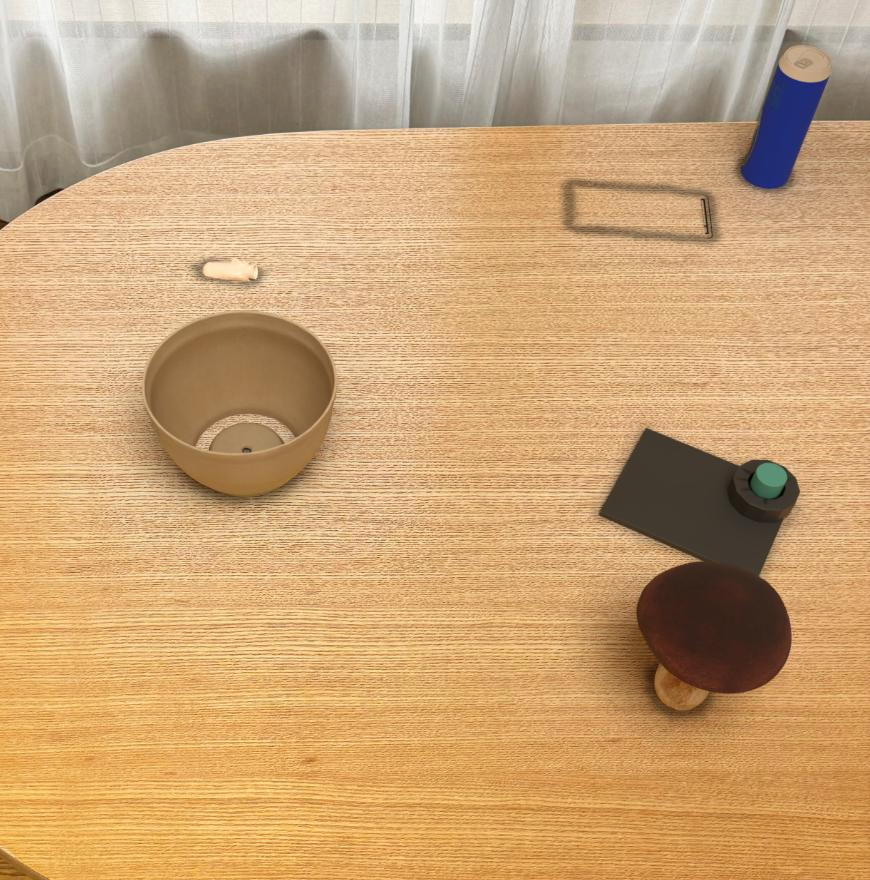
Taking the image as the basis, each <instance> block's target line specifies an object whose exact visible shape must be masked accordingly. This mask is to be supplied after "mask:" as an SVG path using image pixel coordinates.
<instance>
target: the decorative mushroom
mask: <svg viewBox="0 0 870 880" xmlns="http://www.w3.org/2000/svg"><path fill="white" fill-rule="evenodd" d="M635 619H636V622H637V626H638V629H639V631H640V633H641V635H642V637H643V639H644V641H645V643H646V644H647V646H648V648H649V650H650V652H651V653H652V654H653V656H654V658H655V659H656V660H657V662H658V663H659V664H658V666H657V669H656V672H655V675H654V680H653V681H654V682H653V683H654V684H653V685H654V690H655V694H656V696H657V697H658V699H659V700H660V701H661V703H663V704H664V705H665V706H667V708H668V707H669V708H671V709H674V710H675V711H690V710H693V709H694V708H696V707H697V706H699V705H701V704H702V703H703V702H704V701H705V699H706V698H707V697H708V696H709V694H710V693H715V694H722V695H723V694H725V695H726V694H727V695H735V694H743V693H749V692H751V691H754V690H757V689H760V688H762V687H763V686H765V685H767V684H768V683H770V682H771V681H773V679H775V678H776V677H777V676H778V674H779V673H780V672H781V671H782V670H783V668H784V667H785V665H786V663H787V661H788V659H789V656H790V653H791V650H792V641H793V633H792V632H793V631H792V625H791V619H790V615H789V613H788V610H787V607H786V605H785V603H784V601H783V599H782V597H781V596H780V594H779V592H778V591H777V590H776V588H774V587H773V586H772V584H770V583H769V582H768V581H767V580H766V579H764V578H762V577H761V576H760V575H759V576H757V575H755V574H753V573H752V572H750V571H747V570H744V569H742V568H739V567H737V566H733V565H730V564H726V563H720V562H711V561H702V560H700V561H692V562H687V563H682V564H679V565H676V566H672V567H671V568H668V569H666V570H664V571H662V572H660V573H659V574H657V575H655V576H654V577H653V578H652V579H651V580H650V581H649V582H648V583H647V584H646V585H645V586H644V588H643V589H642V591H641V593H640V595H639V598H638V600H637V604H636V610H635Z"/></svg>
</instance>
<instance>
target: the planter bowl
mask: <svg viewBox="0 0 870 880" xmlns="http://www.w3.org/2000/svg"><path fill="white" fill-rule="evenodd" d="M337 391H338V372H337V367H336V364H335V360H334V358H333V356H332V353H331V351H330V349H329V348H328V347H327V346H326V344H325V343H324V342H323V341H322V340H321V338H319V337H318V336H317V335H316V334H315V332H313V331H311V329H309V328H307V327H306V326H304V325H303V324H302V323H298V322H297V321H295V320H294V319H292V318H291V319H290V318H288V317H285V316H283V315H279V314H275V313H273V312H272V313H271V312H265V311H261V310H252V309H237V310H236V309H234V310H225V311H219V312H213V313H211V314H207V315H203V316H200V317H198V318H195V319H193V320H191V321H188V322H186V323H185V324H183V325H181V326H178V328H176V329H175V330H173V331H172V332H170V333H169V334H168V335H167V336H165V337H164V338H163V339H162V340H161V341H160V342H159V343H158V345H156V346H155V348H154V349H153V351H152V352H151V353H150V355H149V358H148V360H147V361H146V364H145V366H144V369H143V373H142V376H141V397H142V401H143V405H144V409H145V411H146V413H147V416H148V417H149V419H150V422H151V425H152V428H153V431H154V433H155V435H156V437H157V439H158V441H159V442H160V444H161V446H162V447H163V449H164V450H165V452H166V454H167V455H168V456H169V458H170V459H171V460H172V462H174V463H175V465H176V466H178V467H179V468H180V470H182V471H183V472H184V473H185V474H187V476H189V477H190V478H192V479H193V480H194V481H196V482H198V483H200V484H201V485H203V486H205V487H207V488H209V489H211V490H214V491H216V492H218V493H220V494H223V495H226V496H230V497H236V498H237V497H238V498H251V497H253V498H254V497H259V496H263V495H267V494H269V493H272V492H275V491H276V490H278V489H280V488H281V487H283V486H284V485H286V484H287V483H288V482H289V481H291V480H292V479H294V478H295V477H296V476H298V474H299V473H301V472H302V471H303V470H304V469H305V468H306V467H307V465H308V464H309V463H310V462H311V461H312V460H313V458H315V456H316V454H317V453H318V451H319V449H320V448H321V446H322V444H323V442H324V440H325V438H326V435H327V433H328V431H329V427H330V423H331V420H332V415H333V410H334V405H335V401H336V397H337ZM240 415H259V416H263V417H267V418H271V419H273V420H275V421H277V422H279V423H281V424H282V425H283V426H284V427H286V428H287V430H288V431H290V433H292V436H293V437H294V438H293V439H290V440H289V441H286V442H285V441H284V440H283V438H282V437H281V436H280V434H278V433H277V432H276V431H275V430H274V429H272V428H270V427H269V426H266V425H264V424H261V423H257V422H239V423H238V422H237V423H235V424H232V425H229V426H227V427H225V428H224V429H221V431H219V432H218V433H217V434H216V435H215V436H214V438H213V439H212V440H211V443H210V445H209V447H208V449H204V448H201V447H197V444H198V442H199V440H200V438H201V437H202V436H203V434H204V433H205V432H206V431H207V430H208V429H209V428H210V427H211V426H213V425H214V424H216V423H217V422H219V421H222V420H225V419H226V418H229V417H233V416H240ZM244 449H248V450H250V452H244Z"/></svg>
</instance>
